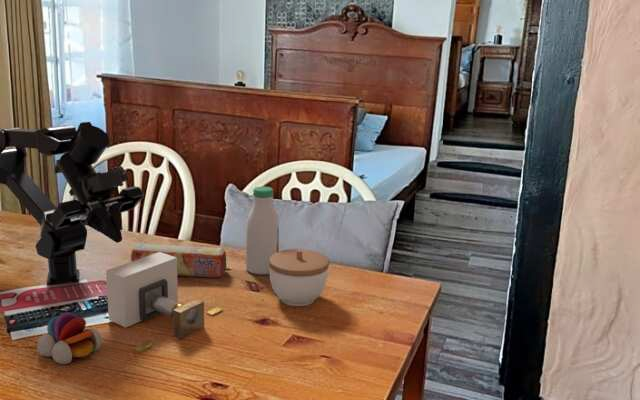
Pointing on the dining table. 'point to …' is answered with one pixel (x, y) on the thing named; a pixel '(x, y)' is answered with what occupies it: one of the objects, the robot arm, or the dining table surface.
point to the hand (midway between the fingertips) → (119, 241)
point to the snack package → (188, 258)
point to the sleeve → (140, 287)
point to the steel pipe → (178, 315)
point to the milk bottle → (261, 232)
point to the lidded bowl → (298, 275)
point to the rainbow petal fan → (68, 339)
